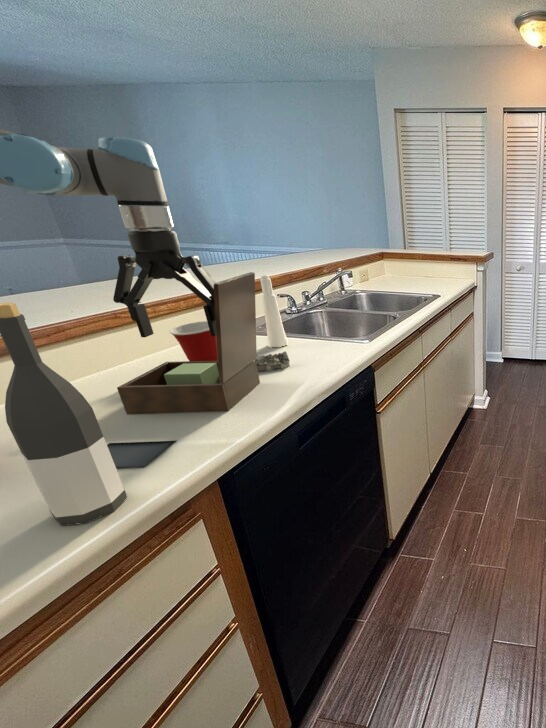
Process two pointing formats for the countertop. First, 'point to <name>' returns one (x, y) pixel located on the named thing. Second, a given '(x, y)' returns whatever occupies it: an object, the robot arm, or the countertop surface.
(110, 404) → the countertop surface
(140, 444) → the mat
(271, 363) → the grey rock
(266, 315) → the white tapered tower
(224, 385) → the chest
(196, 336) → the plastic cup
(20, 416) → the wine bottle
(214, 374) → the cube
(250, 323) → the lid
